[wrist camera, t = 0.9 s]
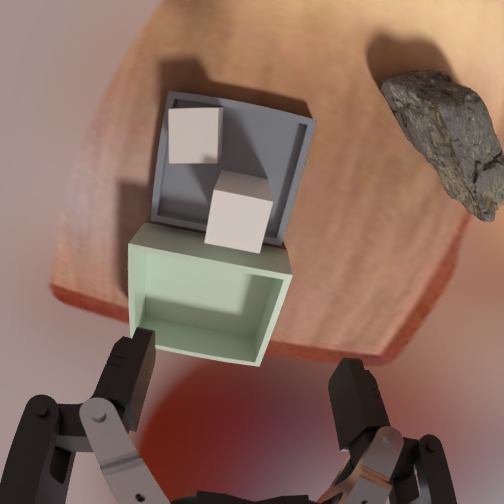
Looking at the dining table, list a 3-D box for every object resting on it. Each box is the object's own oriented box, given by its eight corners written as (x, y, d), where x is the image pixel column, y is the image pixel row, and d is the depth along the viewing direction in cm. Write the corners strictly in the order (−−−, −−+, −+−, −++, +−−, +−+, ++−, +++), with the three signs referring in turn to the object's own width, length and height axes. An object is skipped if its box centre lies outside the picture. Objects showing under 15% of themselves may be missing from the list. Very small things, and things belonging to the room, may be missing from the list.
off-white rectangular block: (221, 169, 25) (213, 189, 19) (268, 179, 25) (273, 201, 20) (213, 212, 26) (204, 242, 21) (257, 221, 27) (259, 253, 22)
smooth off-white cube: (181, 107, 22) (168, 109, 18) (223, 107, 22) (218, 107, 18) (181, 153, 24) (169, 163, 20) (222, 154, 24) (217, 163, 20)
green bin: (144, 222, 27) (128, 243, 23) (287, 249, 29) (292, 275, 25) (141, 315, 33) (130, 342, 29) (258, 337, 34) (259, 366, 30)
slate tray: (172, 91, 22) (168, 90, 20) (313, 119, 23) (316, 120, 22) (155, 214, 27) (150, 220, 26) (279, 238, 28) (281, 245, 27)
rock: (528, 160, 19) (501, 241, 21) (485, 155, 25) (456, 225, 27) (437, 27, 14) (398, 112, 16) (391, 47, 20) (349, 122, 22)
